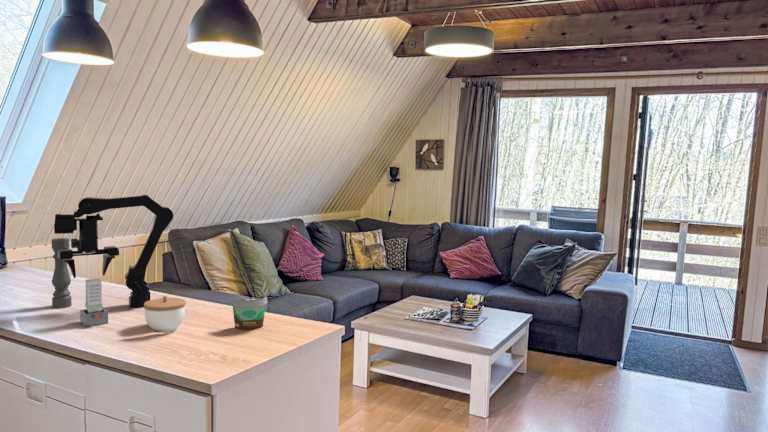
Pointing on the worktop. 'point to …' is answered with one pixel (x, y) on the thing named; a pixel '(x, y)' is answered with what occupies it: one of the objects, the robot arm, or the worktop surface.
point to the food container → (249, 313)
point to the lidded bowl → (164, 313)
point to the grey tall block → (93, 296)
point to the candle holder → (60, 276)
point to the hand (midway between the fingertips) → (89, 276)
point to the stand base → (95, 321)
